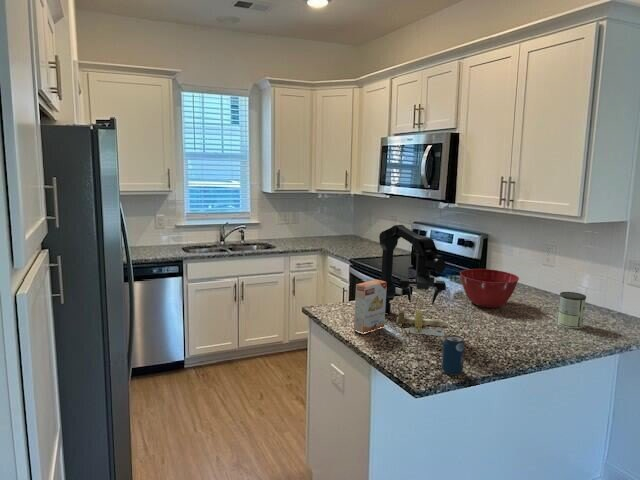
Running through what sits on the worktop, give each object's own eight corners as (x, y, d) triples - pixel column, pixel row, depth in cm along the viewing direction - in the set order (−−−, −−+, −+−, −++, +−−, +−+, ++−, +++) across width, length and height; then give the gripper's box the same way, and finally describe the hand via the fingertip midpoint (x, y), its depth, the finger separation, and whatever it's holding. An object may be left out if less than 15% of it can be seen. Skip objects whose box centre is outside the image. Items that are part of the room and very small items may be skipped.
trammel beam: (395, 329, 199) (396, 316, 198) (396, 321, 210) (397, 308, 209) (443, 333, 196) (444, 319, 195) (442, 325, 206) (443, 312, 205)
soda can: (465, 375, 156) (468, 341, 154) (445, 376, 155) (448, 342, 153) (457, 367, 163) (460, 334, 161) (438, 367, 162) (440, 334, 160)
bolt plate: (395, 332, 195) (395, 331, 195) (396, 327, 202) (396, 326, 202) (444, 337, 192) (444, 335, 192) (443, 331, 198) (443, 329, 198)
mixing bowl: (517, 315, 222) (520, 284, 220) (456, 308, 232) (458, 278, 229) (515, 300, 248) (517, 271, 246) (459, 294, 258) (461, 266, 256)
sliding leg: (415, 331, 197) (415, 315, 196) (414, 323, 207) (415, 308, 206) (422, 332, 196) (423, 316, 195) (421, 323, 207) (422, 308, 206)
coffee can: (555, 319, 216) (558, 290, 214) (580, 322, 213) (583, 292, 211) (558, 326, 207) (562, 296, 205) (584, 330, 204) (588, 298, 201)
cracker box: (364, 336, 191) (365, 286, 188) (353, 332, 195) (354, 283, 192) (385, 328, 200) (387, 281, 197) (374, 325, 205) (376, 278, 201)
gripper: (400, 270, 187) (398, 307, 190) (448, 273, 184) (445, 311, 186) (400, 265, 198) (398, 300, 201) (445, 267, 195) (443, 303, 197)
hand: (421, 304), depth 196 cm, fingers open, 9 cm apart
